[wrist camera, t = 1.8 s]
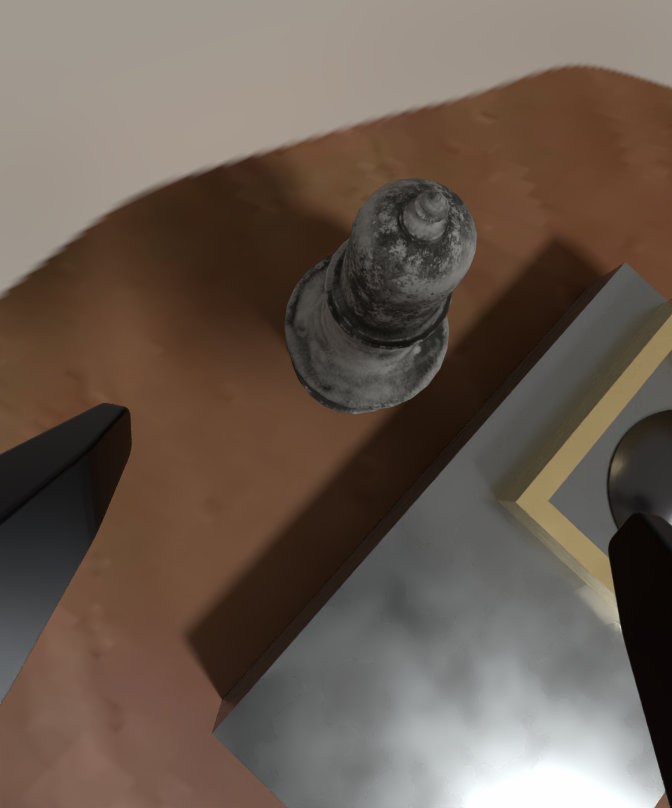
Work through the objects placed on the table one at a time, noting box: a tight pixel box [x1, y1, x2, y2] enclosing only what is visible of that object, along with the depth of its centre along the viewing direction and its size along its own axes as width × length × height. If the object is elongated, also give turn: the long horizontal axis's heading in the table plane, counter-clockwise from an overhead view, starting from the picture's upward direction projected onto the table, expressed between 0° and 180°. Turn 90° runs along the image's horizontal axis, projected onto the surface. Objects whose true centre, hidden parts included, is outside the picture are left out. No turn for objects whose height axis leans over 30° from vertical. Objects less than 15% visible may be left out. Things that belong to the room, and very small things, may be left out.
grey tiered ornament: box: [284, 178, 477, 414], centre depth 15 cm, size 6×6×12 cm
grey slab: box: [212, 263, 672, 808], centre depth 19 cm, size 23×13×4 cm, turn 137°
